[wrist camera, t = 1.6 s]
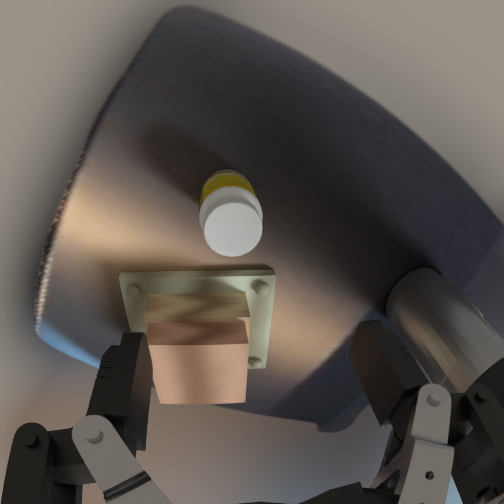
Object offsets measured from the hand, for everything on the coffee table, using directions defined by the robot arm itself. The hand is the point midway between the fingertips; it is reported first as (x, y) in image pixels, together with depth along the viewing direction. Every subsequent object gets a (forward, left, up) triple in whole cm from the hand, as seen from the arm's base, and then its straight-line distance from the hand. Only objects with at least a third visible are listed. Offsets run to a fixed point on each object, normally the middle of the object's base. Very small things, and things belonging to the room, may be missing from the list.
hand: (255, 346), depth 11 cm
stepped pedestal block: (+3, +15, -19) cm, 24 cm away
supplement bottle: (0, 0, -19) cm, 19 cm away
